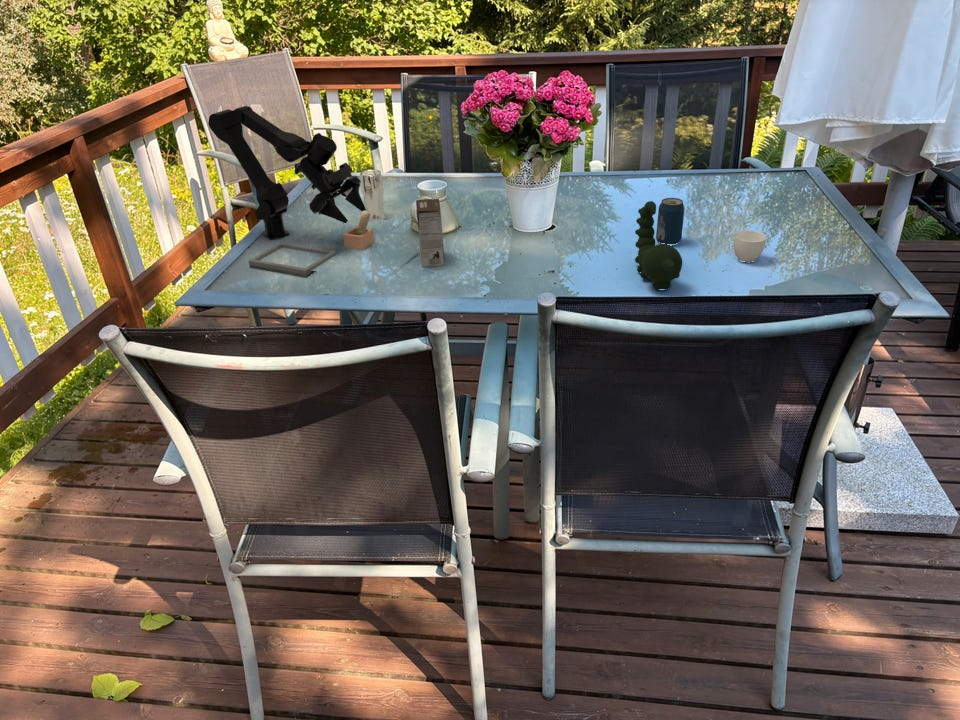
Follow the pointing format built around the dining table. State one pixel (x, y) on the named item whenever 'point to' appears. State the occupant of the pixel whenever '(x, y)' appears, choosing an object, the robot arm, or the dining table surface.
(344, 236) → the terracotta box
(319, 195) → the robot arm
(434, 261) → the coffee box
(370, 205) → the beer glass
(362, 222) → the wooden dowel
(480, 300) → the dining table surface
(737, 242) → the cup
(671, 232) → the soda can
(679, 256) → the toy figurine
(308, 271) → the charcoal frame
